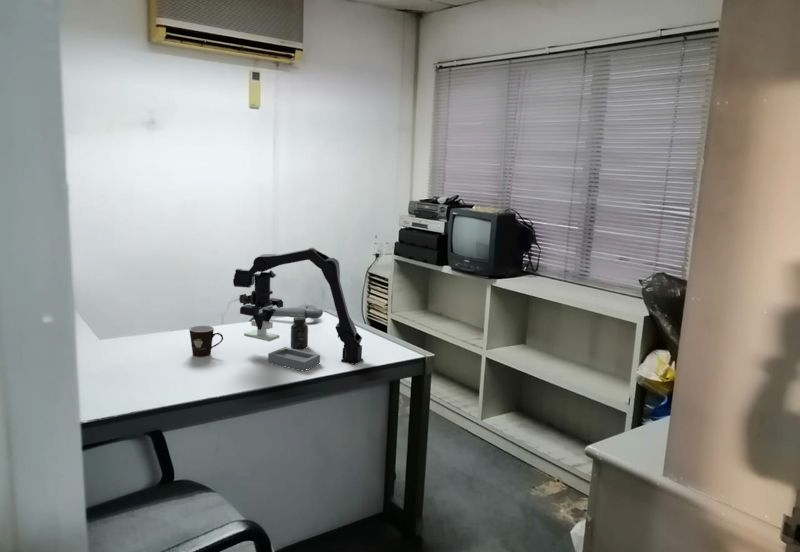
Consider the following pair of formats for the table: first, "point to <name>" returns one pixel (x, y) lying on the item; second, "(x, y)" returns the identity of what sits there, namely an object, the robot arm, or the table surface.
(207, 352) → the coffee mug
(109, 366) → the table surface
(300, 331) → the supplement bottle
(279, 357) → the case
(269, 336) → the cover
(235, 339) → the table surface
